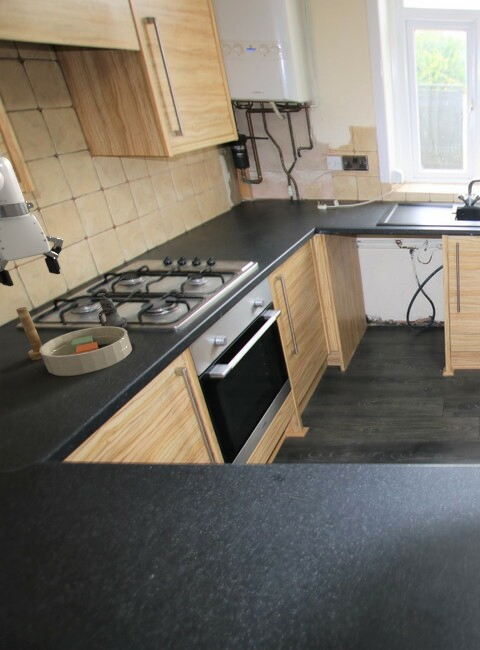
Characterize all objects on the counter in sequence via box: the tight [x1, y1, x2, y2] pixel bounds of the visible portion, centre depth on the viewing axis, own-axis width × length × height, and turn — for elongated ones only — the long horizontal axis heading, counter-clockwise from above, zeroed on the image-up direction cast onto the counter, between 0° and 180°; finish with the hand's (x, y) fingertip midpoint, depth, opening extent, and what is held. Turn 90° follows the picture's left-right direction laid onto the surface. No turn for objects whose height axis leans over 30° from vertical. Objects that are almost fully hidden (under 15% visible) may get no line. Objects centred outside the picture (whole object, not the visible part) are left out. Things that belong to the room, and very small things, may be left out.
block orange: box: [76, 342, 100, 354], centre depth 122 cm, size 4×4×4 cm
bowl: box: [39, 326, 133, 377], centre depth 123 cm, size 17×17×6 cm
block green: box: [72, 335, 94, 354], centre depth 125 cm, size 4×4×4 cm
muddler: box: [15, 306, 43, 361], centre depth 122 cm, size 4×4×14 cm
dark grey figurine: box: [99, 295, 128, 329], centre depth 136 cm, size 6×6×12 cm
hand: (32, 279), depth 118 cm, fingers open, 9 cm apart
